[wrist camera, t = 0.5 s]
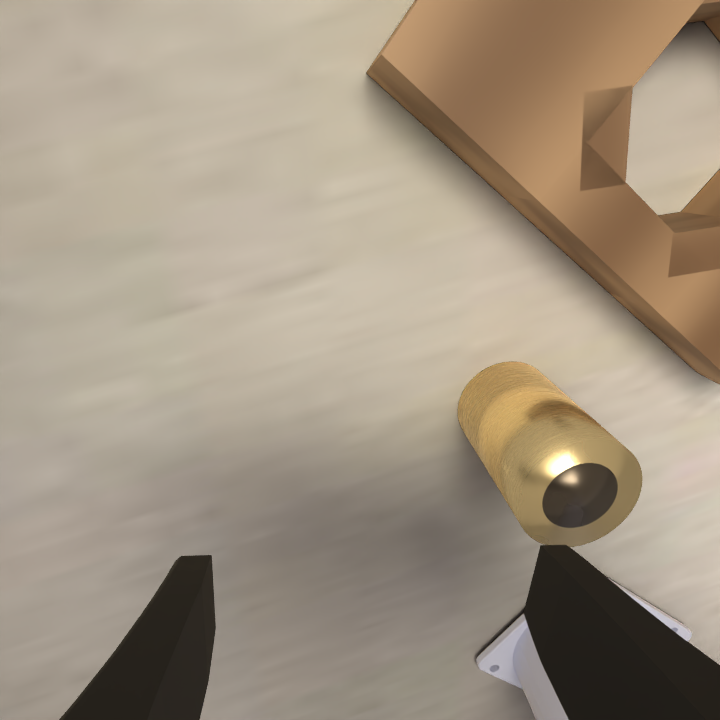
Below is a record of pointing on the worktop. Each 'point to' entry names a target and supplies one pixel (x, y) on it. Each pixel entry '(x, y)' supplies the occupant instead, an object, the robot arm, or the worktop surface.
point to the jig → (569, 140)
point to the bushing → (548, 456)
